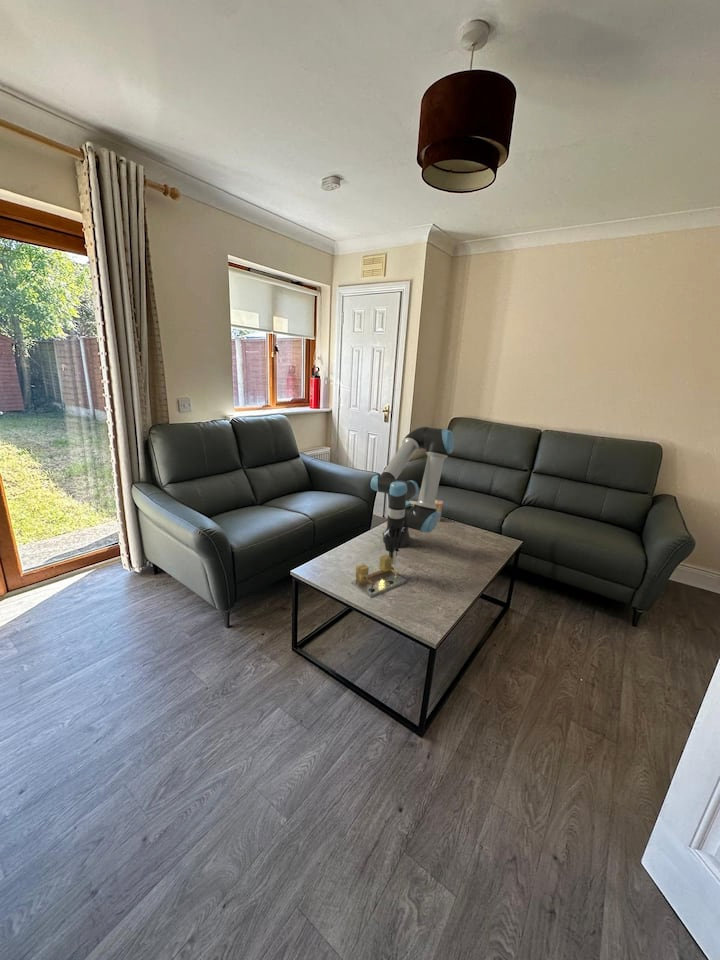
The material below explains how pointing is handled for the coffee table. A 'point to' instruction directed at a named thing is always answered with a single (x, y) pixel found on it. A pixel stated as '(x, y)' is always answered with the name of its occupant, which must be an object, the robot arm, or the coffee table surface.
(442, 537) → the coffee table surface
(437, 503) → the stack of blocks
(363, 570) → the beam
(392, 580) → the hole plate
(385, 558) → the slider leg
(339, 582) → the coffee table surface
